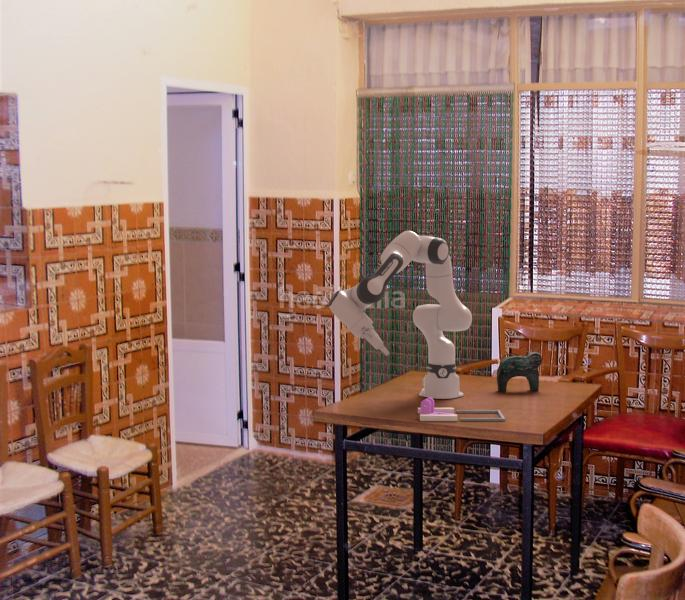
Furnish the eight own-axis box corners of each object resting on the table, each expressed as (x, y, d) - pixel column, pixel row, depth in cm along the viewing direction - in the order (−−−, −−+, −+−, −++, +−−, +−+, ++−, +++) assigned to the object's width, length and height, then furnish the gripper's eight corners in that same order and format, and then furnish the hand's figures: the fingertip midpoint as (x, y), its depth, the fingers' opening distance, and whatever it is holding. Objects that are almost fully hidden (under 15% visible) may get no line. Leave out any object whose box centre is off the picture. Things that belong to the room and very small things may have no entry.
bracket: (420, 417, 376) (420, 399, 376) (425, 414, 381) (425, 396, 381) (453, 420, 371) (453, 402, 371) (457, 417, 376) (457, 399, 376)
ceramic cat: (539, 389, 432) (540, 344, 430) (543, 391, 426) (544, 346, 424) (495, 390, 430) (495, 344, 428) (499, 393, 423) (499, 347, 421)
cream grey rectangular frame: (417, 412, 384) (417, 407, 384) (499, 412, 384) (499, 407, 383) (420, 421, 369) (420, 415, 369) (505, 421, 369) (505, 416, 369)
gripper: (369, 323, 362) (395, 350, 364) (366, 318, 383) (391, 343, 384) (357, 335, 363) (383, 362, 364) (354, 329, 383) (379, 355, 384)
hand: (387, 352), depth 374 cm, fingers open, 8 cm apart
